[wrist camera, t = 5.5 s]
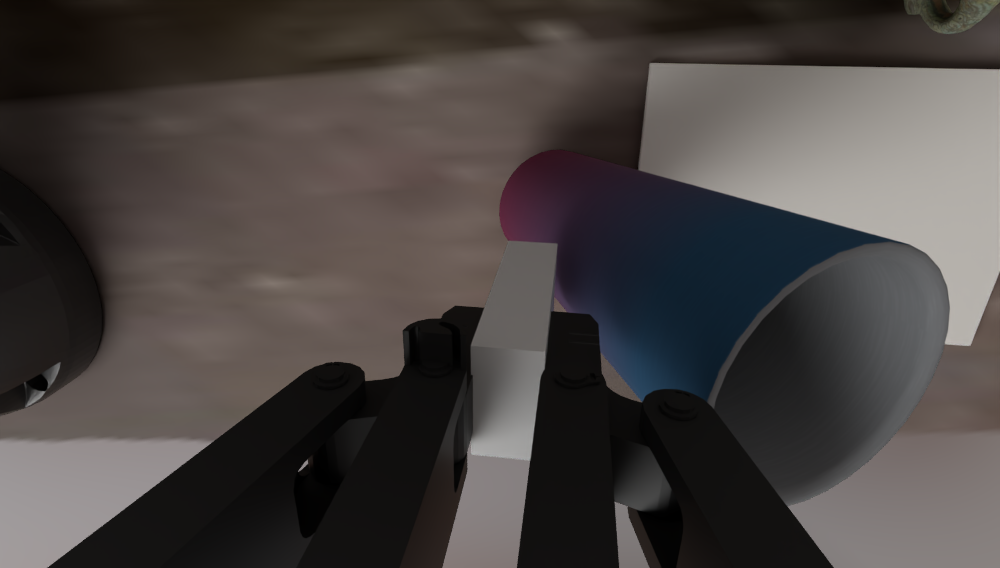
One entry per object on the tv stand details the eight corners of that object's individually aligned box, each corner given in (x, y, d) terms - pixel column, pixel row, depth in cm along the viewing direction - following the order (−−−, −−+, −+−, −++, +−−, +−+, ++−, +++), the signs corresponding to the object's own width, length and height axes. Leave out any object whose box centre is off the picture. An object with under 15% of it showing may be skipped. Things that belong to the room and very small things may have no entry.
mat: (621, 319, 28) (621, 323, 28) (649, 62, 24) (650, 63, 23) (964, 341, 27) (970, 345, 26) (1070, 70, 22) (1078, 71, 22)
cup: (500, 297, 26) (711, 554, 13) (460, 157, 23) (688, 320, 10) (627, 245, 28) (931, 435, 15) (606, 107, 24) (972, 194, 11)
